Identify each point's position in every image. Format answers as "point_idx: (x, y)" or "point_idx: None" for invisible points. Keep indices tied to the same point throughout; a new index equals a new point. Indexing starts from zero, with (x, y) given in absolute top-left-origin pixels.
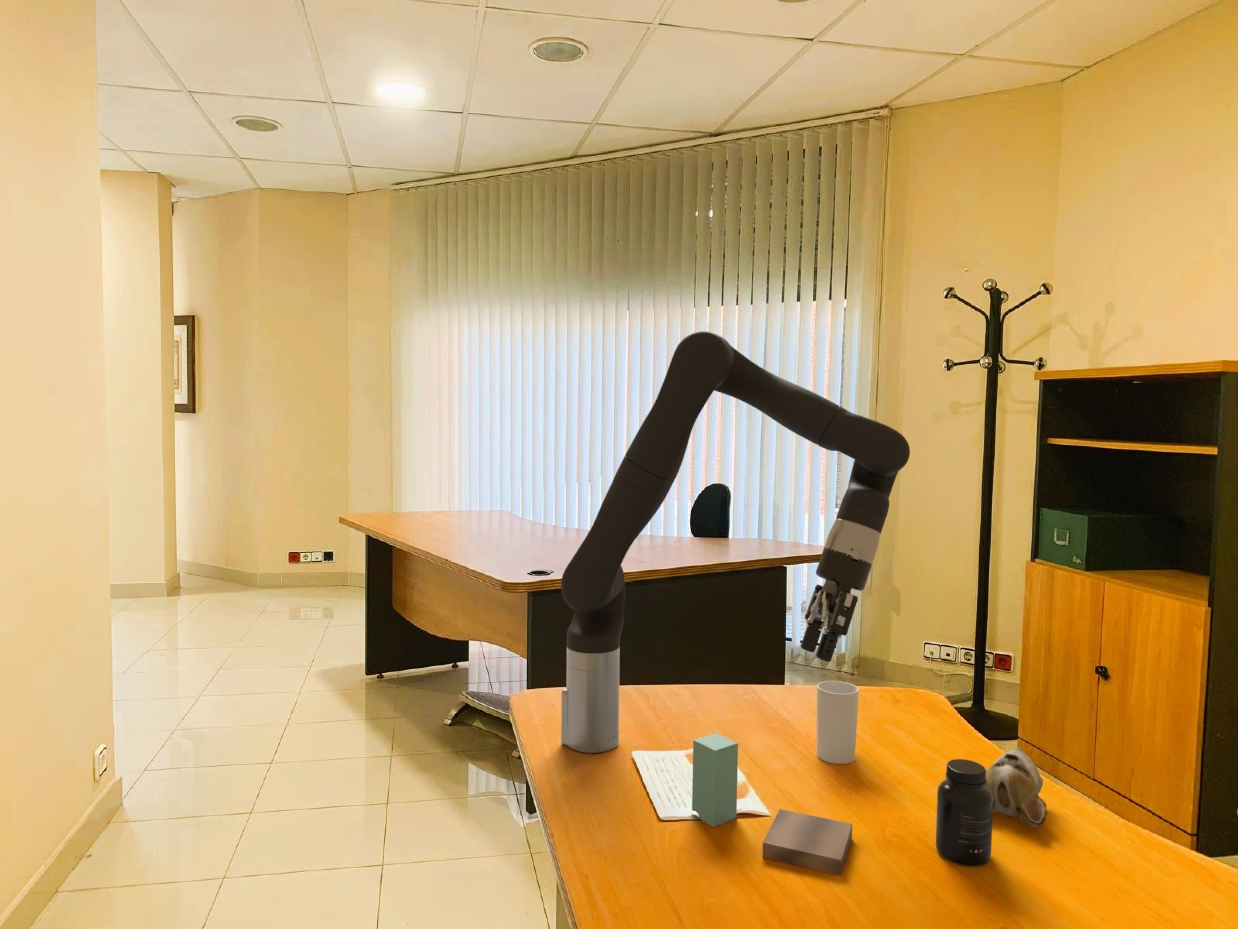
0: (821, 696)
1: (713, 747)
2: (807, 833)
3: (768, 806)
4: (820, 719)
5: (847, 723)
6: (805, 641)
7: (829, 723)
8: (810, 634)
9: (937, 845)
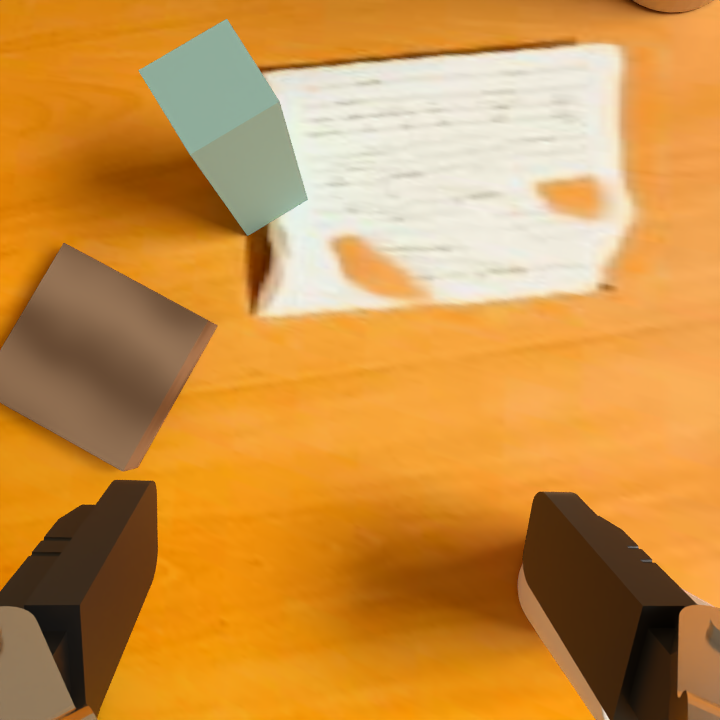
0: None
1: (163, 70)
2: (90, 351)
3: (296, 321)
4: None
5: (557, 652)
6: (560, 530)
7: None
8: (591, 593)
9: None
